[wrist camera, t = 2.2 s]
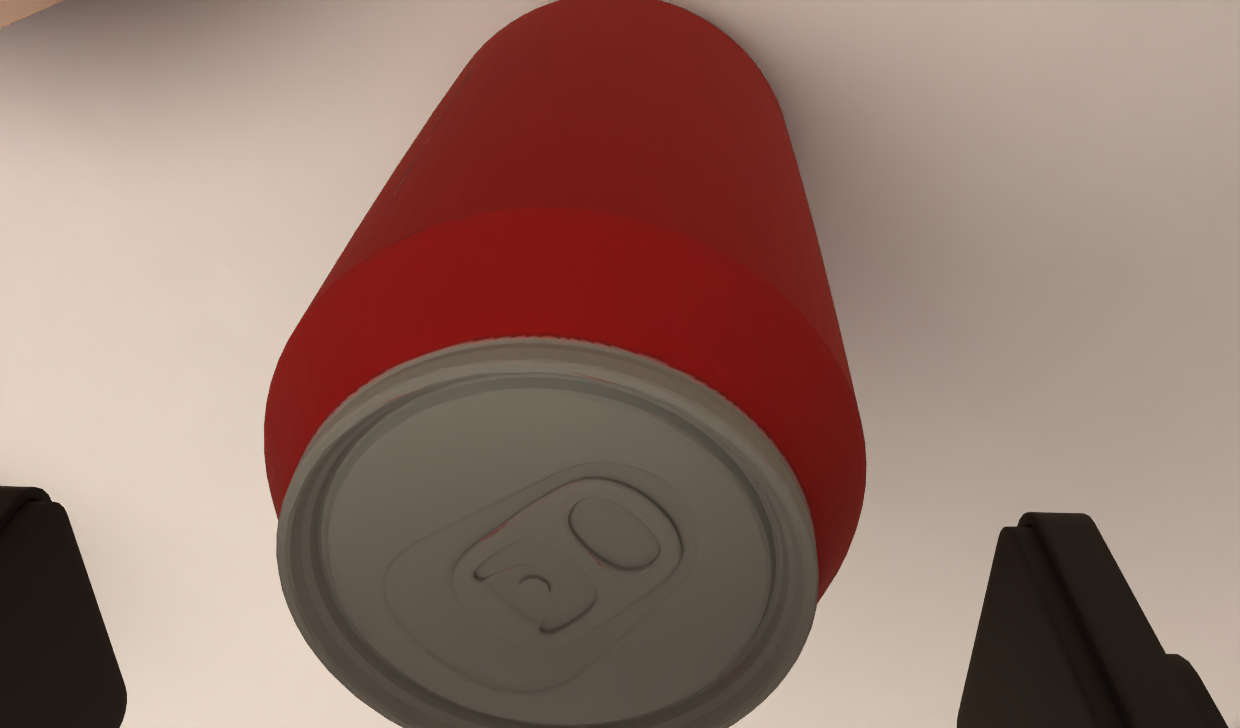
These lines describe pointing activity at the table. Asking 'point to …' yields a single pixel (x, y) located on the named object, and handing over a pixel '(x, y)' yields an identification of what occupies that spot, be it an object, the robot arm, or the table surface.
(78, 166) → the table surface
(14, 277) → the table surface
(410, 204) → the beverage can
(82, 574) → the robot arm
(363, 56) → the table surface
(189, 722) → the table surface
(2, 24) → the bowl
